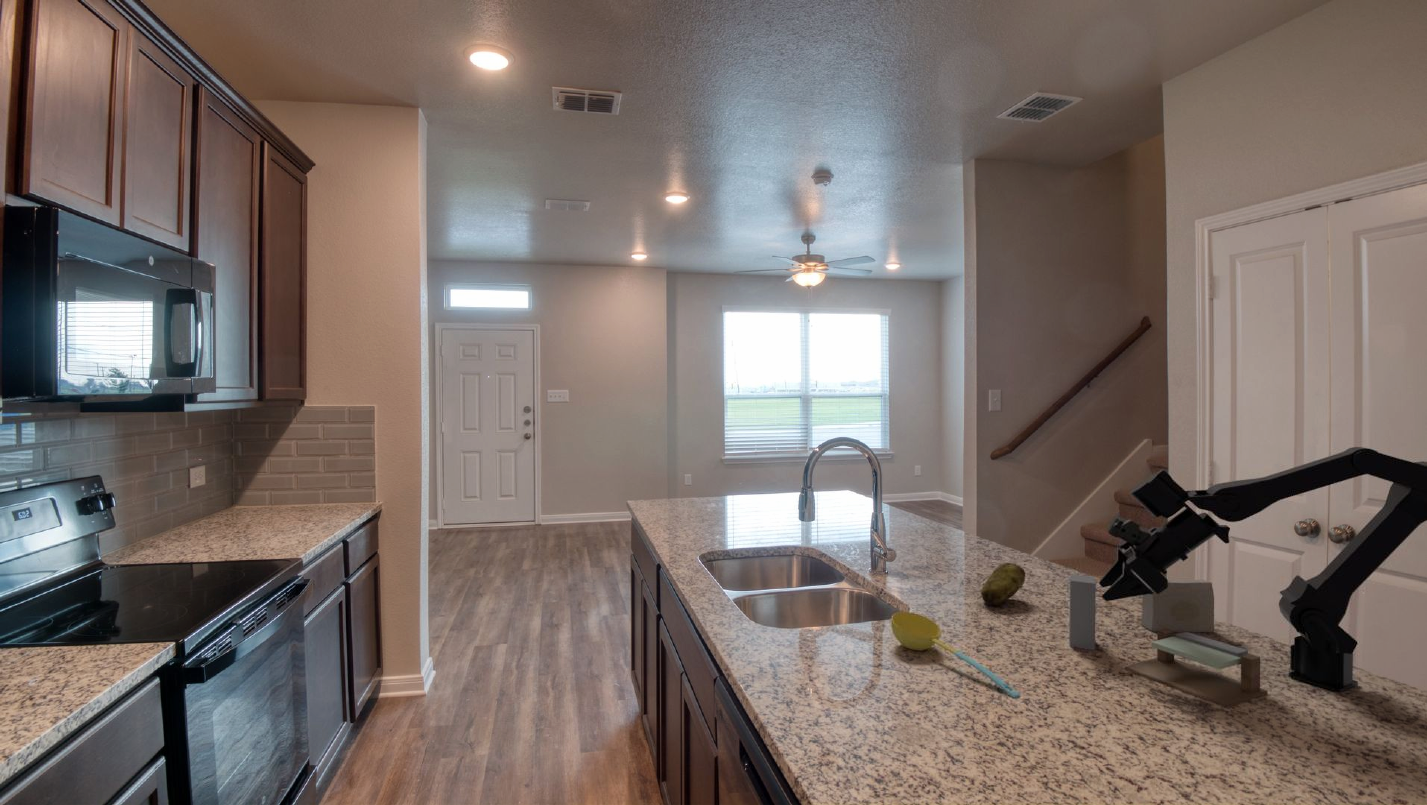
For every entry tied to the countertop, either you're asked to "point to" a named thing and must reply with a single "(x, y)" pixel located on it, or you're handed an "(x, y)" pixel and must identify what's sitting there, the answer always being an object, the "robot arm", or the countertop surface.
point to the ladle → (932, 641)
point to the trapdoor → (1201, 650)
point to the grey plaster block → (1180, 607)
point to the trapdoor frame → (1202, 677)
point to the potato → (1003, 583)
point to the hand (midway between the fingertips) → (1102, 591)
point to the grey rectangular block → (1082, 611)
